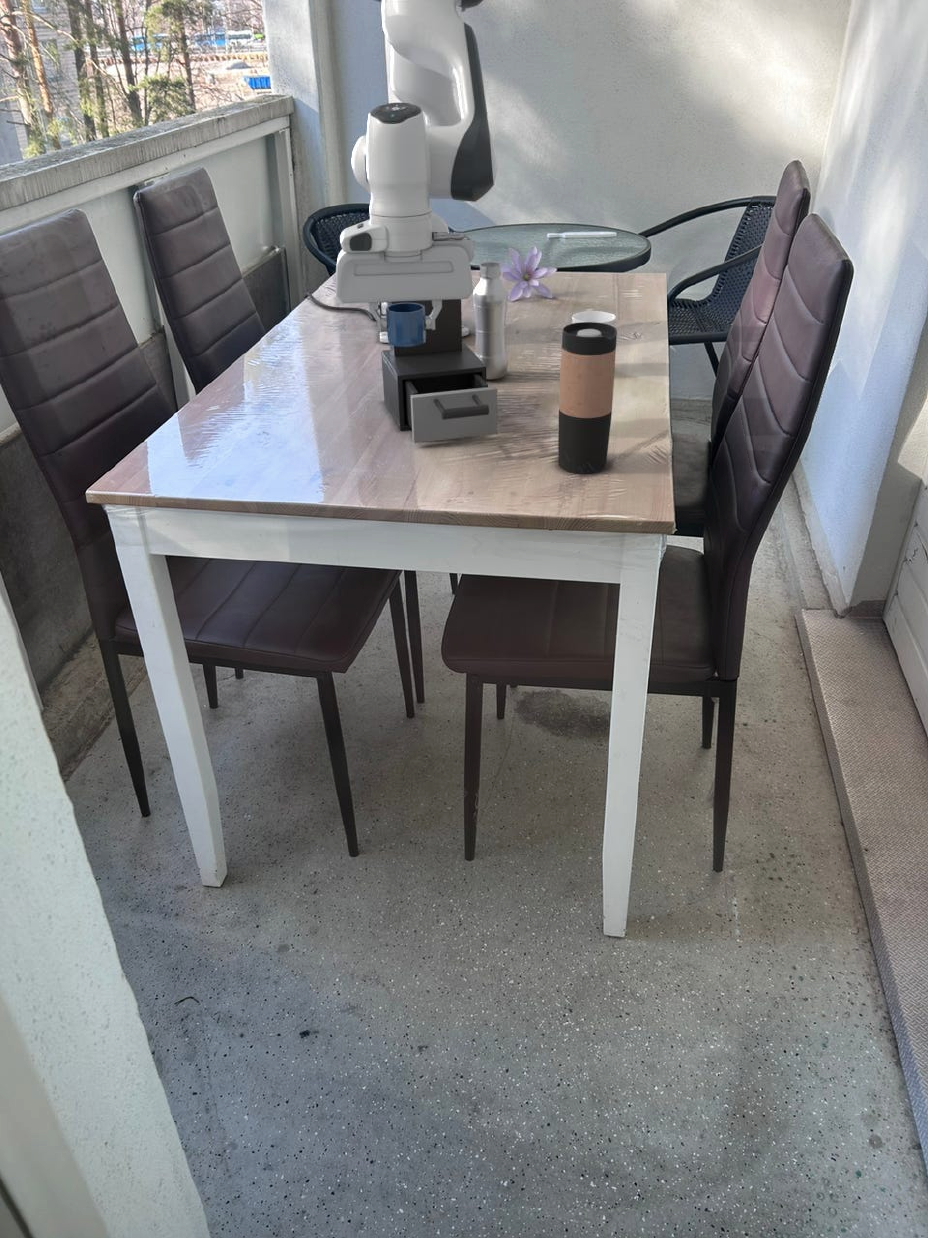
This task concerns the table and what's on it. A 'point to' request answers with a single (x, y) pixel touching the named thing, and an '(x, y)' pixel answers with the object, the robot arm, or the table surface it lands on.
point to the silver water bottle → (491, 320)
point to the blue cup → (406, 324)
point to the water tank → (437, 330)
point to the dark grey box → (422, 373)
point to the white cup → (594, 317)
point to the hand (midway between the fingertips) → (406, 330)
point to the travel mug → (586, 396)
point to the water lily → (526, 274)
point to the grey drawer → (449, 407)
